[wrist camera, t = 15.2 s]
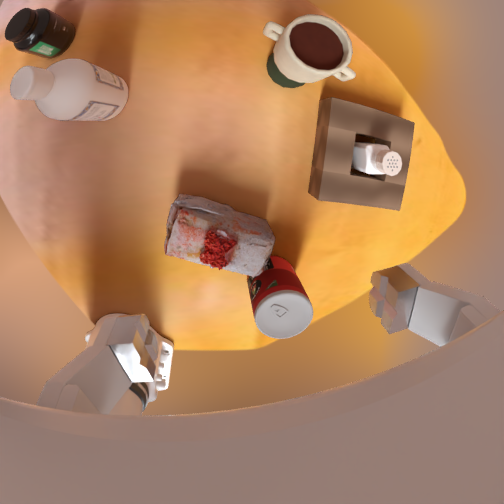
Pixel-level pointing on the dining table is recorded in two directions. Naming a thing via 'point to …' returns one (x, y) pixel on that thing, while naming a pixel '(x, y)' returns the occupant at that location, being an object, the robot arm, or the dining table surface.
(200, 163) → the dining table surface
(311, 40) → the character mug
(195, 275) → the dining table surface
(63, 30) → the supplement bottle
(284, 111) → the dining table surface
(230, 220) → the food item
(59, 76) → the bath foam
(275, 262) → the canned food
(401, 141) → the socket
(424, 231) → the dining table surface
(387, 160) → the pepper shaker
